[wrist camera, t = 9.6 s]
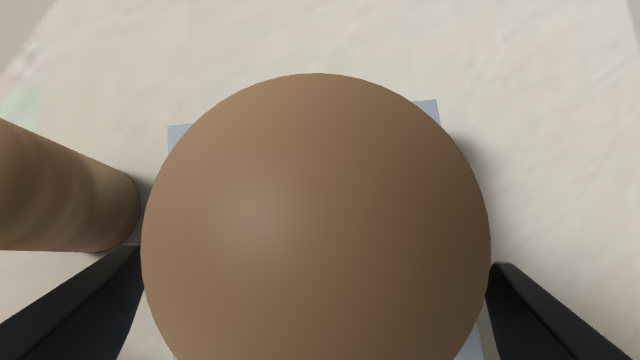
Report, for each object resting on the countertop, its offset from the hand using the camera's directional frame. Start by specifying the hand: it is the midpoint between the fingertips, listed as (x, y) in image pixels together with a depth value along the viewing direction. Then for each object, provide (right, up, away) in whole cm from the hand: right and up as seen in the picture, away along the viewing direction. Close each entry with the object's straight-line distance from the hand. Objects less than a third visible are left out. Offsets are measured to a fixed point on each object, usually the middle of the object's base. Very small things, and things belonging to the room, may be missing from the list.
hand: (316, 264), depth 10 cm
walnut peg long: (0, -1, +7) cm, 7 cm away
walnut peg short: (-10, +1, +8) cm, 13 cm away
